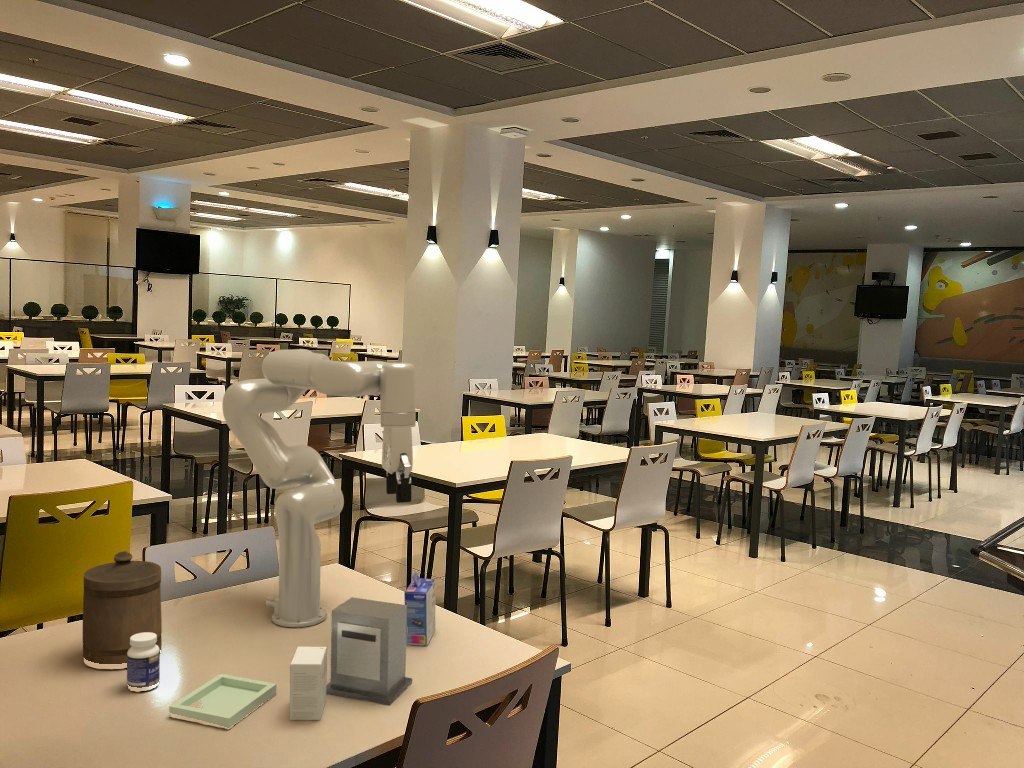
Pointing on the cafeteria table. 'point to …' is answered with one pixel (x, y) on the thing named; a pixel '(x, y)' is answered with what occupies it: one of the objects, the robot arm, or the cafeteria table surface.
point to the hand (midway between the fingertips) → (398, 497)
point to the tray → (224, 699)
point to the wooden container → (120, 607)
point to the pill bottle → (143, 660)
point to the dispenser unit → (368, 651)
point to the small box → (308, 683)
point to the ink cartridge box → (420, 611)
